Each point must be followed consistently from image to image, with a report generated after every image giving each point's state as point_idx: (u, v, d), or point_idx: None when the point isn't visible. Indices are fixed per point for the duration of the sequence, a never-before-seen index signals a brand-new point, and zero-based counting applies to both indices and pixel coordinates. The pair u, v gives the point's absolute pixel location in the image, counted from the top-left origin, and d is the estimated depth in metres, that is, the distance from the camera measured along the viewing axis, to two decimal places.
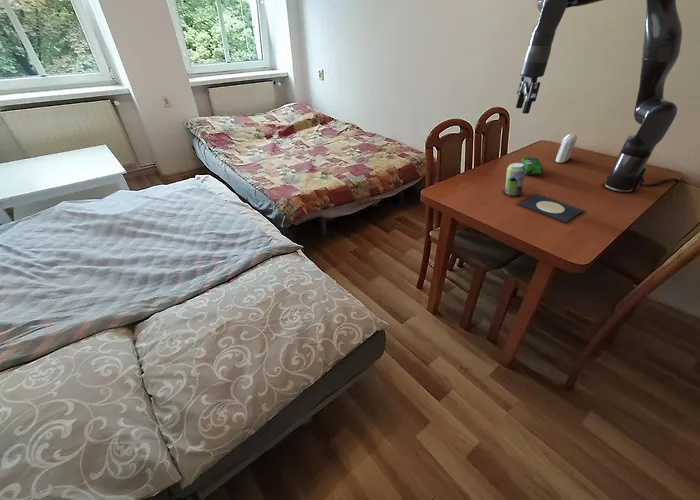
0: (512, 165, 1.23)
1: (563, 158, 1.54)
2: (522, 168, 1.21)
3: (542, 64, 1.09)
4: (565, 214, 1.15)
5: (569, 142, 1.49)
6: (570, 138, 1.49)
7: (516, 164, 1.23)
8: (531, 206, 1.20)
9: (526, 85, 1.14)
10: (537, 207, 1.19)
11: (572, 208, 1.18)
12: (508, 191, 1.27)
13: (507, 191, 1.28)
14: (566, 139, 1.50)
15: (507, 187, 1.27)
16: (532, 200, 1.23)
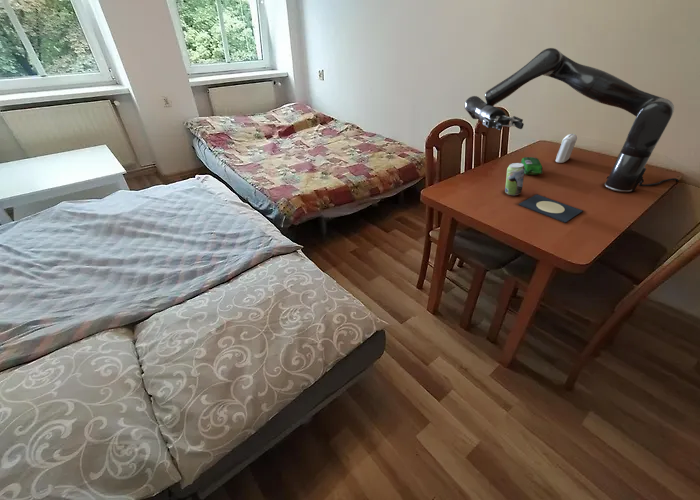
0: (512, 165, 1.23)
1: (563, 158, 1.54)
2: (522, 168, 1.21)
3: (485, 114, 1.36)
4: (565, 214, 1.15)
5: (569, 142, 1.49)
6: (570, 138, 1.49)
7: (516, 164, 1.23)
8: (531, 206, 1.20)
9: None
10: (537, 207, 1.19)
11: (572, 208, 1.18)
12: (508, 191, 1.27)
13: (507, 191, 1.28)
14: (566, 139, 1.50)
15: (507, 187, 1.27)
16: (532, 200, 1.23)
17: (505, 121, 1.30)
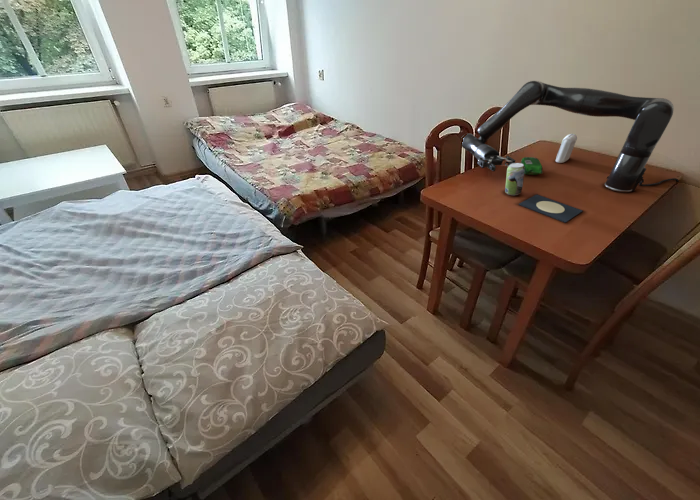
0: (512, 165, 1.23)
1: (563, 158, 1.54)
2: (522, 168, 1.21)
3: (480, 153, 1.43)
4: (565, 214, 1.15)
5: (569, 142, 1.49)
6: (570, 138, 1.49)
7: (516, 164, 1.23)
8: (531, 206, 1.20)
9: None
10: (537, 207, 1.19)
11: (572, 208, 1.18)
12: (508, 191, 1.27)
13: (507, 191, 1.28)
14: (566, 139, 1.50)
15: (507, 187, 1.27)
16: (532, 200, 1.23)
17: (499, 161, 1.37)
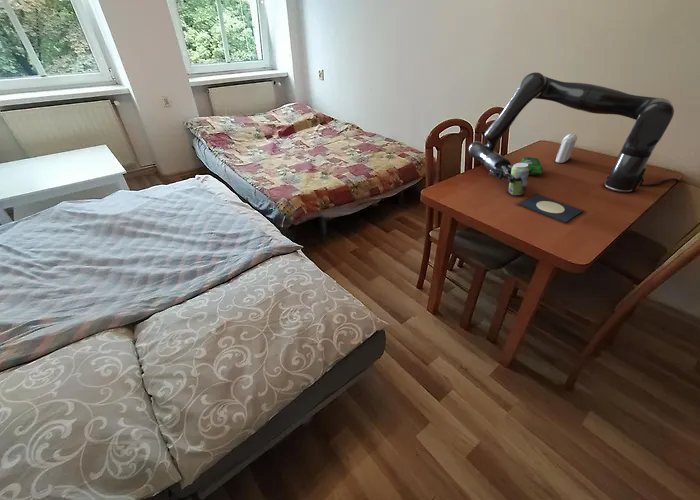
0: (517, 165, 1.23)
1: (563, 158, 1.54)
2: (527, 168, 1.21)
3: (490, 162, 1.35)
4: (565, 214, 1.15)
5: (569, 142, 1.49)
6: (570, 138, 1.49)
7: (521, 164, 1.23)
8: (531, 206, 1.20)
9: None
10: (537, 207, 1.19)
11: (572, 208, 1.18)
12: (513, 191, 1.27)
13: (512, 191, 1.27)
14: (566, 139, 1.50)
15: (512, 187, 1.26)
16: (532, 200, 1.23)
17: None
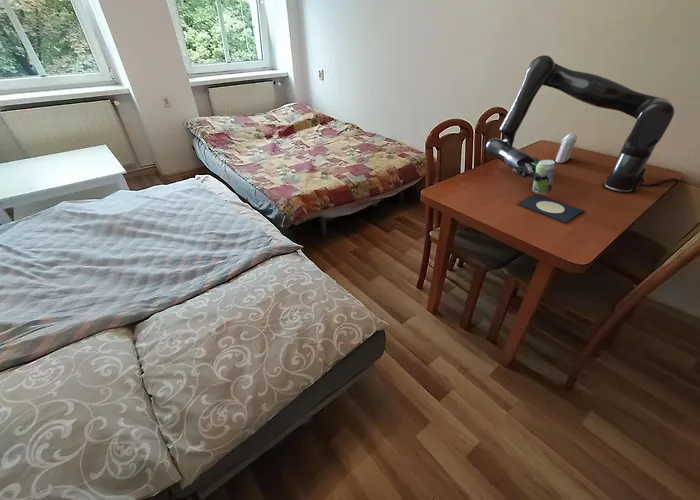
0: (542, 162, 1.16)
1: (563, 158, 1.54)
2: (554, 165, 1.14)
3: (512, 159, 1.28)
4: (565, 214, 1.15)
5: (569, 142, 1.49)
6: (570, 138, 1.49)
7: (546, 161, 1.16)
8: (531, 206, 1.20)
9: (523, 173, 1.24)
10: (537, 207, 1.19)
11: (572, 208, 1.18)
12: (538, 190, 1.19)
13: (537, 190, 1.20)
14: (566, 139, 1.50)
15: (537, 186, 1.19)
16: (532, 200, 1.23)
17: None
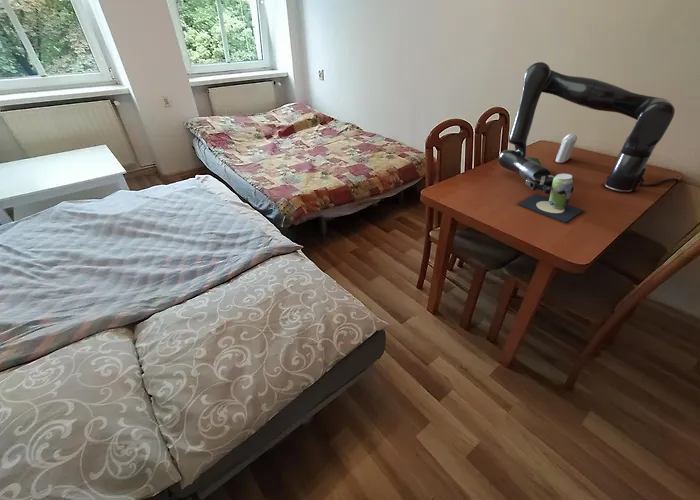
0: (559, 177, 1.13)
1: (563, 158, 1.54)
2: (572, 179, 1.11)
3: (527, 171, 1.25)
4: (565, 214, 1.15)
5: (569, 142, 1.49)
6: (570, 138, 1.49)
7: (563, 176, 1.13)
8: (531, 206, 1.20)
9: None
10: (537, 207, 1.19)
11: (572, 208, 1.18)
12: (555, 204, 1.16)
13: (553, 204, 1.17)
14: (566, 139, 1.50)
15: (554, 201, 1.16)
16: (532, 200, 1.23)
17: (551, 182, 1.18)
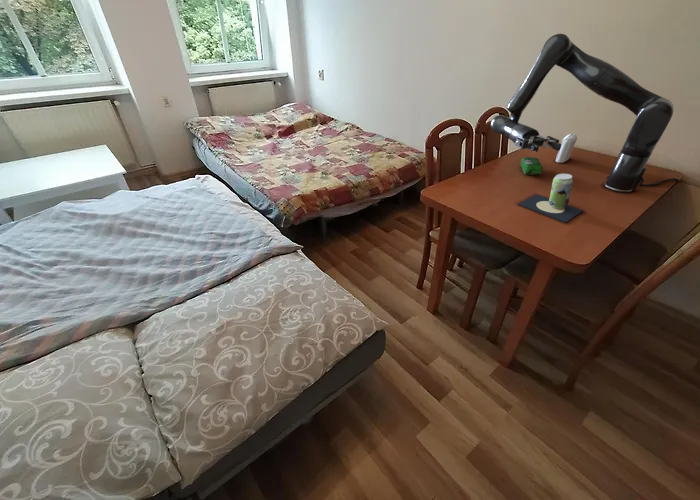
0: (559, 177, 1.13)
1: (563, 158, 1.54)
2: (572, 179, 1.11)
3: (517, 133, 1.29)
4: (565, 214, 1.15)
5: (569, 142, 1.49)
6: (570, 138, 1.49)
7: (563, 176, 1.13)
8: (531, 206, 1.20)
9: None
10: (537, 207, 1.19)
11: (572, 208, 1.18)
12: (555, 204, 1.16)
13: (553, 204, 1.17)
14: (566, 139, 1.50)
15: (554, 201, 1.16)
16: (532, 200, 1.23)
17: (540, 142, 1.22)
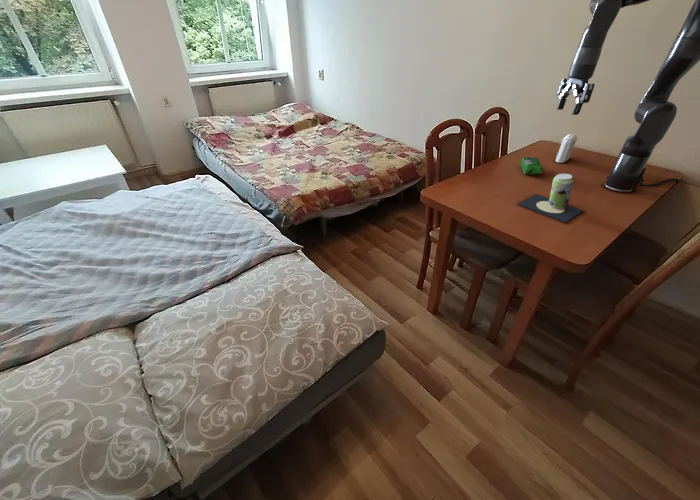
0: (559, 177, 1.13)
1: (563, 158, 1.54)
2: (572, 179, 1.11)
3: (594, 66, 1.10)
4: (565, 214, 1.15)
5: (569, 142, 1.49)
6: (570, 138, 1.49)
7: (563, 176, 1.13)
8: (531, 206, 1.20)
9: (576, 87, 1.15)
10: (537, 207, 1.19)
11: (572, 208, 1.18)
12: (555, 204, 1.16)
13: (553, 204, 1.17)
14: (566, 139, 1.50)
15: (554, 201, 1.16)
16: (532, 200, 1.23)
17: None
